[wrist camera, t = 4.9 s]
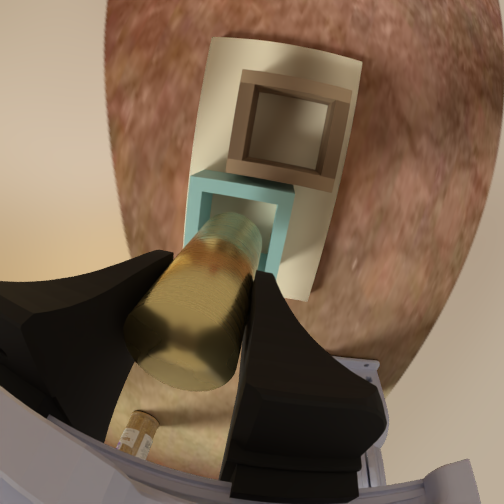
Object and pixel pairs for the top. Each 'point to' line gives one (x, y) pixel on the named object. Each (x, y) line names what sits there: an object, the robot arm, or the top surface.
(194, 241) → the pin
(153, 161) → the top surface
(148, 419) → the spice jar
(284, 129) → the board
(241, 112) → the mount
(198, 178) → the socket
